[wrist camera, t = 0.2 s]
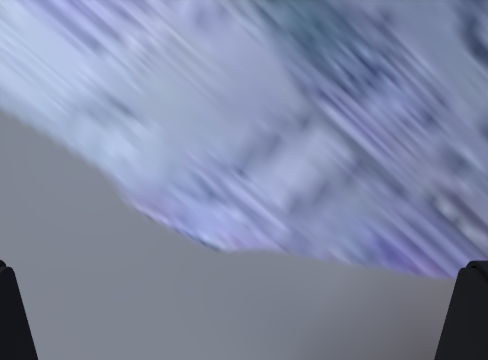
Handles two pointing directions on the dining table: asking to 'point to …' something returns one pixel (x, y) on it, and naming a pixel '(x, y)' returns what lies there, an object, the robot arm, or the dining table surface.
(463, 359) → the robot arm
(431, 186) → the dining table surface
